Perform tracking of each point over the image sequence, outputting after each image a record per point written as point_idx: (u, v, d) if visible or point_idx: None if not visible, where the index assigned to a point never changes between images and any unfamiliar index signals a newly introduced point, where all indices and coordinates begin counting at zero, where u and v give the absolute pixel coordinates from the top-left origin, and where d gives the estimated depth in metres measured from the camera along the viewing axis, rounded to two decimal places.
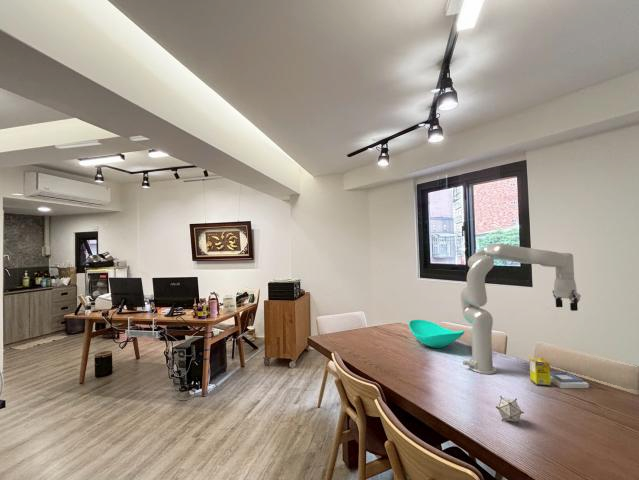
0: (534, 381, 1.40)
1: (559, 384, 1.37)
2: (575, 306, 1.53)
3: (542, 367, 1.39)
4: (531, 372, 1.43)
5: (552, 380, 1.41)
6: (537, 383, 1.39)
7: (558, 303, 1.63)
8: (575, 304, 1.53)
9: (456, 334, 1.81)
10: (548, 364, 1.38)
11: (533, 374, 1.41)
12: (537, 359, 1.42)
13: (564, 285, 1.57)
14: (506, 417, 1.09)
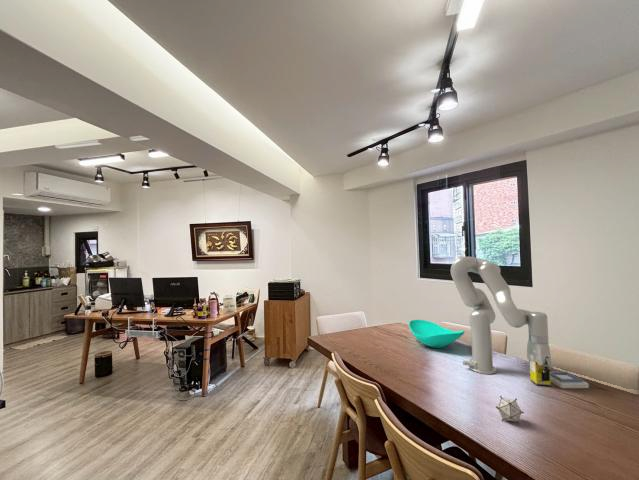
0: (534, 381, 1.40)
1: (559, 384, 1.37)
2: (547, 376, 1.37)
3: None
4: (531, 372, 1.43)
5: (552, 380, 1.41)
6: (537, 383, 1.39)
7: None
8: (547, 374, 1.37)
9: (456, 334, 1.81)
10: None
11: (533, 374, 1.41)
12: None
13: (537, 350, 1.39)
14: (506, 417, 1.09)
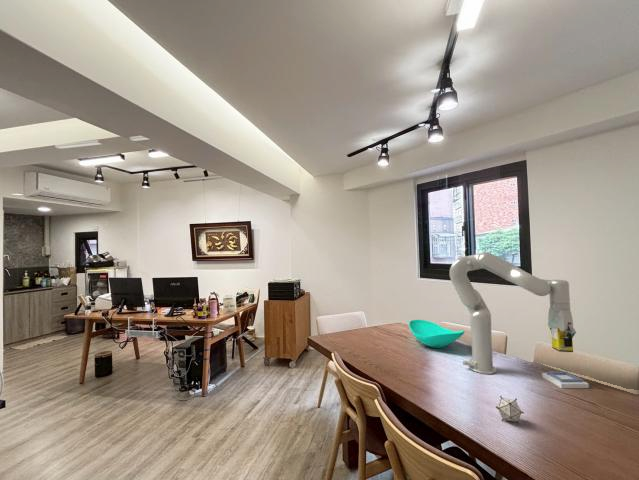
0: (556, 348, 1.42)
1: (559, 384, 1.37)
2: (569, 342, 1.38)
3: None
4: (553, 339, 1.44)
5: (552, 380, 1.41)
6: (560, 349, 1.40)
7: None
8: (569, 340, 1.38)
9: (456, 334, 1.81)
10: None
11: (555, 341, 1.43)
12: None
13: (559, 317, 1.40)
14: (506, 417, 1.09)
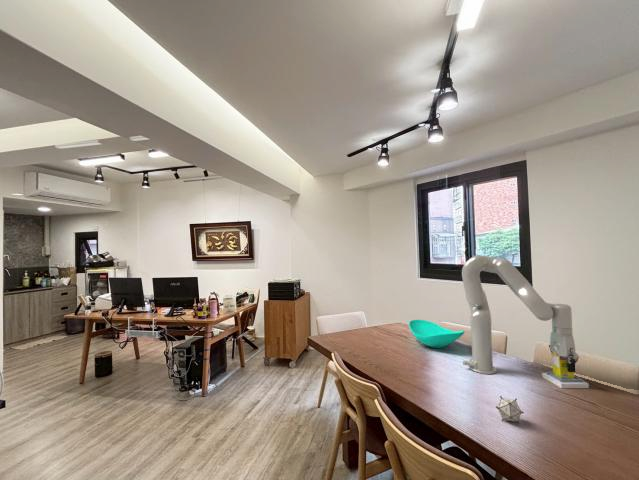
0: (558, 375, 1.41)
1: (559, 384, 1.37)
2: (573, 367, 1.37)
3: (566, 361, 1.40)
4: (554, 366, 1.44)
5: (552, 380, 1.41)
6: (561, 377, 1.40)
7: None
8: (573, 365, 1.37)
9: (456, 334, 1.81)
10: None
11: (556, 369, 1.43)
12: None
13: (561, 342, 1.40)
14: (506, 417, 1.09)
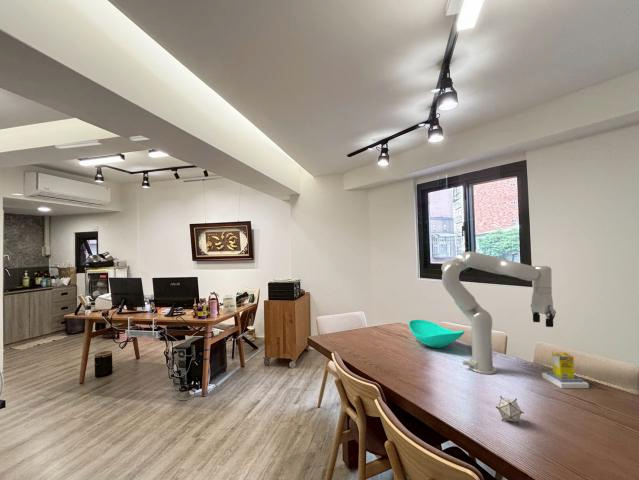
0: (558, 375, 1.41)
1: (559, 384, 1.37)
2: (550, 322, 1.47)
3: (566, 361, 1.40)
4: (554, 367, 1.44)
5: (552, 380, 1.41)
6: (561, 377, 1.40)
7: (535, 318, 1.57)
8: (550, 320, 1.47)
9: (456, 334, 1.81)
10: (572, 358, 1.39)
11: (556, 369, 1.43)
12: (560, 354, 1.43)
13: (540, 300, 1.50)
14: (506, 417, 1.09)
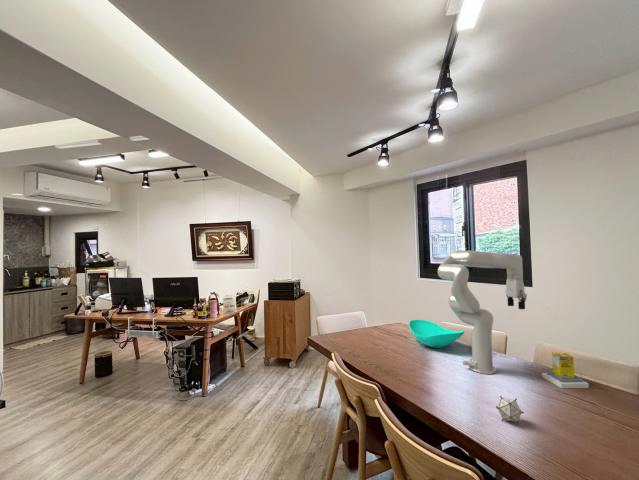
0: (558, 375, 1.41)
1: (559, 384, 1.37)
2: (522, 305, 1.64)
3: (566, 361, 1.40)
4: (554, 367, 1.44)
5: (552, 380, 1.41)
6: (561, 377, 1.40)
7: (510, 302, 1.74)
8: (522, 303, 1.64)
9: (456, 334, 1.81)
10: (572, 358, 1.39)
11: (556, 369, 1.43)
12: (560, 354, 1.43)
13: (513, 285, 1.67)
14: (506, 417, 1.09)
